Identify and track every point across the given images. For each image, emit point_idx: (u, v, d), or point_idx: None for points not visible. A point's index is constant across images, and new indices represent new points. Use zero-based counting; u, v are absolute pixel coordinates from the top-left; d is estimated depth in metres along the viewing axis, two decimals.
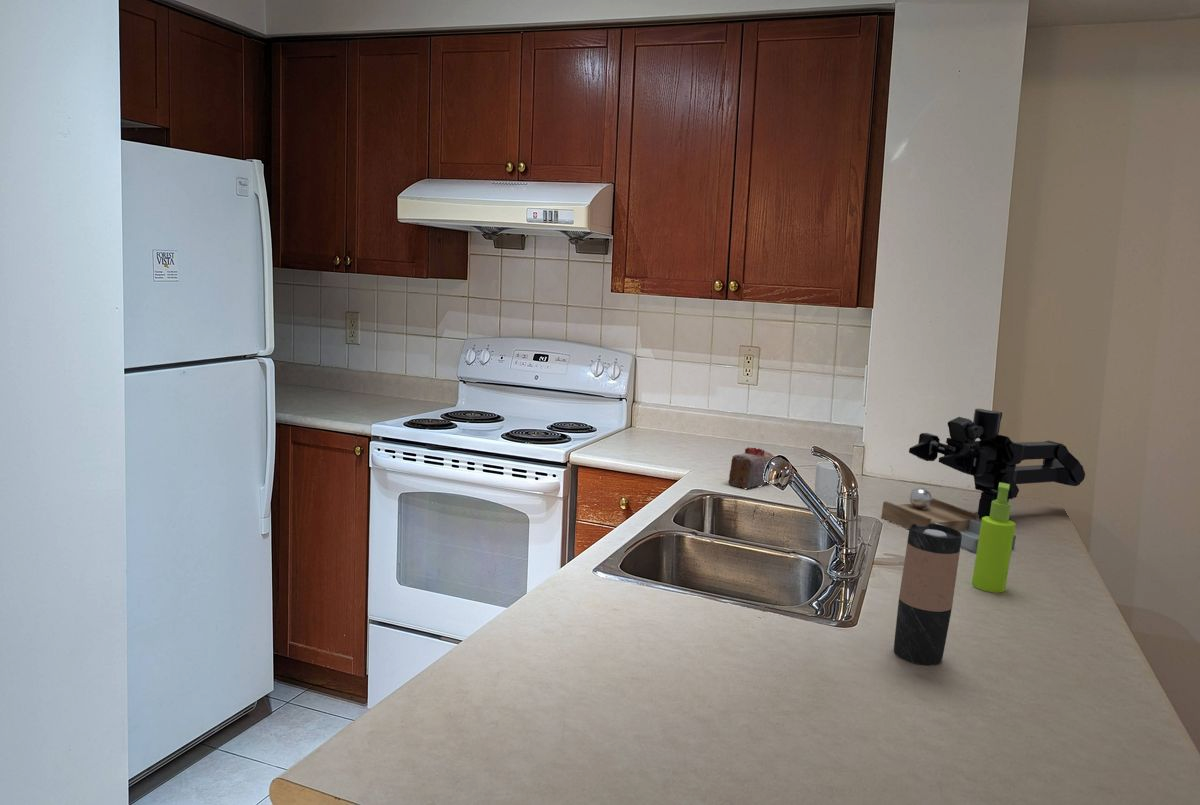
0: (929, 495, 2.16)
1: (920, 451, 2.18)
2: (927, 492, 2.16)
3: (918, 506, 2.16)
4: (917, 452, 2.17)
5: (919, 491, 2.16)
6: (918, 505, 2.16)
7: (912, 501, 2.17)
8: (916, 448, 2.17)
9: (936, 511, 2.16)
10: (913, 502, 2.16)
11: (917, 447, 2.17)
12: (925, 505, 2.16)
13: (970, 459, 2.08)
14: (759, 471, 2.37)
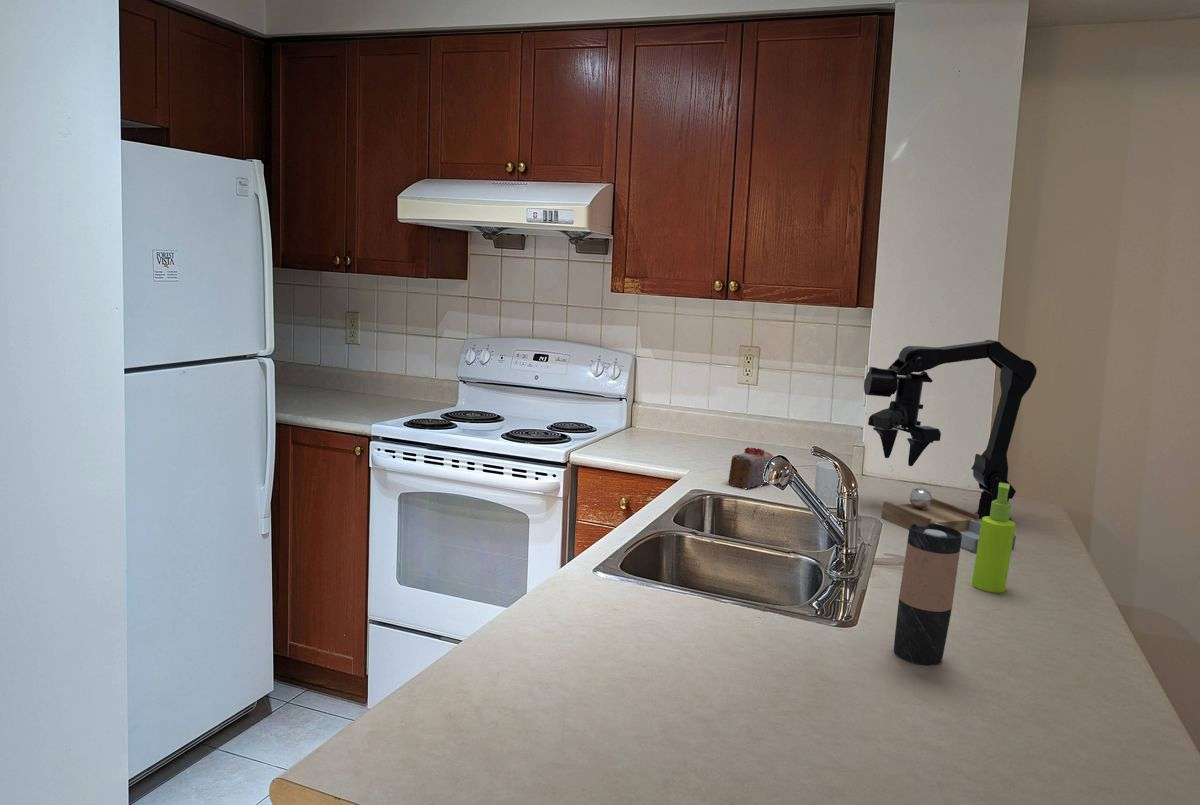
0: (929, 495, 2.16)
1: (889, 443, 2.27)
2: (927, 492, 2.16)
3: (918, 506, 2.16)
4: (890, 448, 2.27)
5: (919, 491, 2.16)
6: (918, 505, 2.16)
7: (912, 501, 2.17)
8: (887, 450, 2.27)
9: (936, 511, 2.16)
10: (913, 502, 2.16)
11: (886, 449, 2.26)
12: (925, 505, 2.16)
13: (921, 442, 2.16)
14: (759, 471, 2.37)
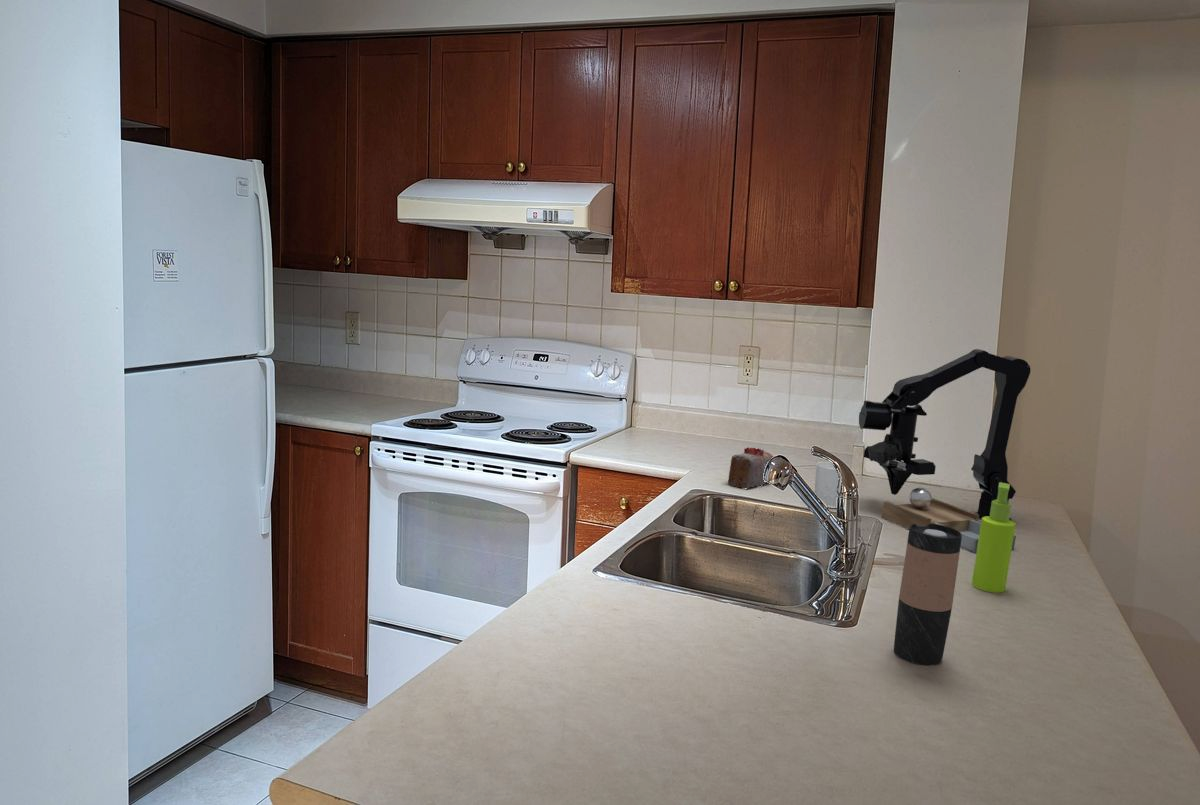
0: (929, 495, 2.16)
1: None
2: (927, 492, 2.16)
3: (918, 506, 2.16)
4: None
5: (919, 491, 2.16)
6: (918, 505, 2.16)
7: (912, 501, 2.17)
8: None
9: (936, 511, 2.16)
10: (913, 502, 2.16)
11: (892, 485, 2.25)
12: (925, 505, 2.16)
13: None
14: (758, 471, 2.37)
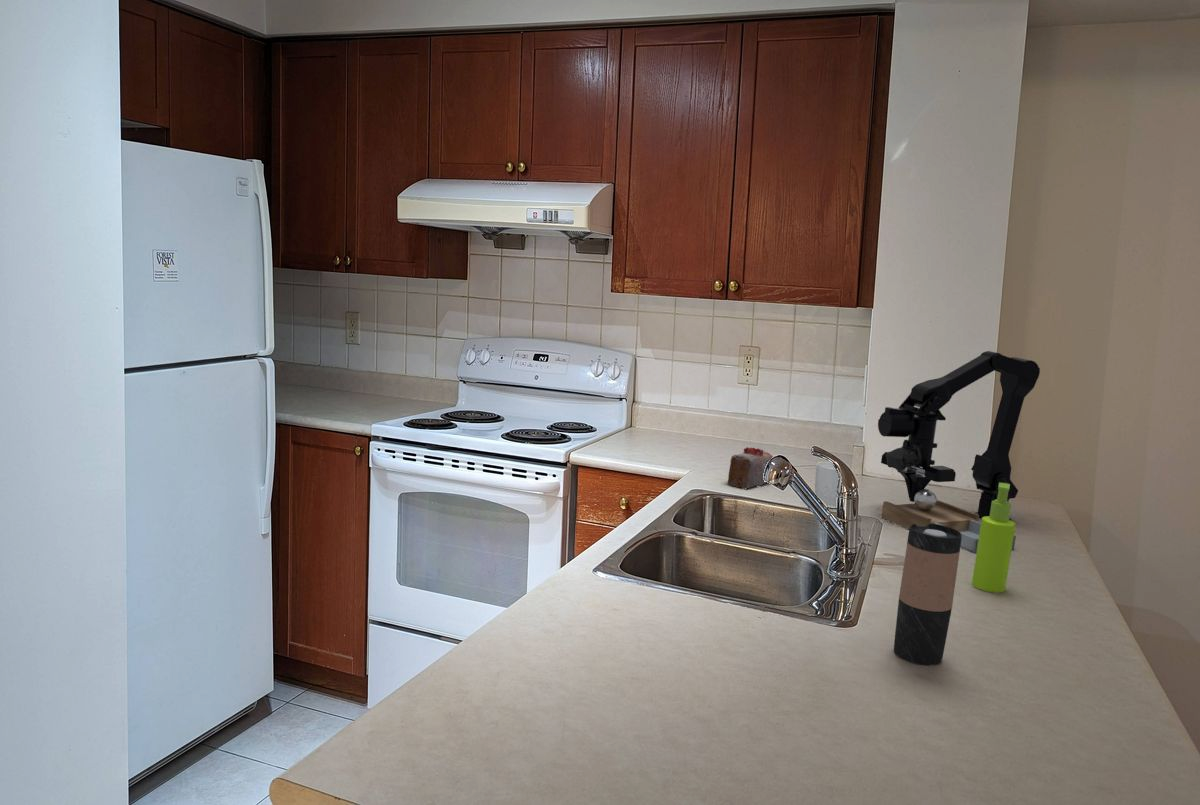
0: (934, 497, 2.14)
1: None
2: (932, 494, 2.14)
3: (923, 508, 2.15)
4: None
5: (924, 493, 2.14)
6: (923, 507, 2.15)
7: (917, 503, 2.15)
8: None
9: (936, 511, 2.16)
10: (918, 504, 2.15)
11: None
12: (930, 507, 2.14)
13: None
14: (758, 471, 2.37)
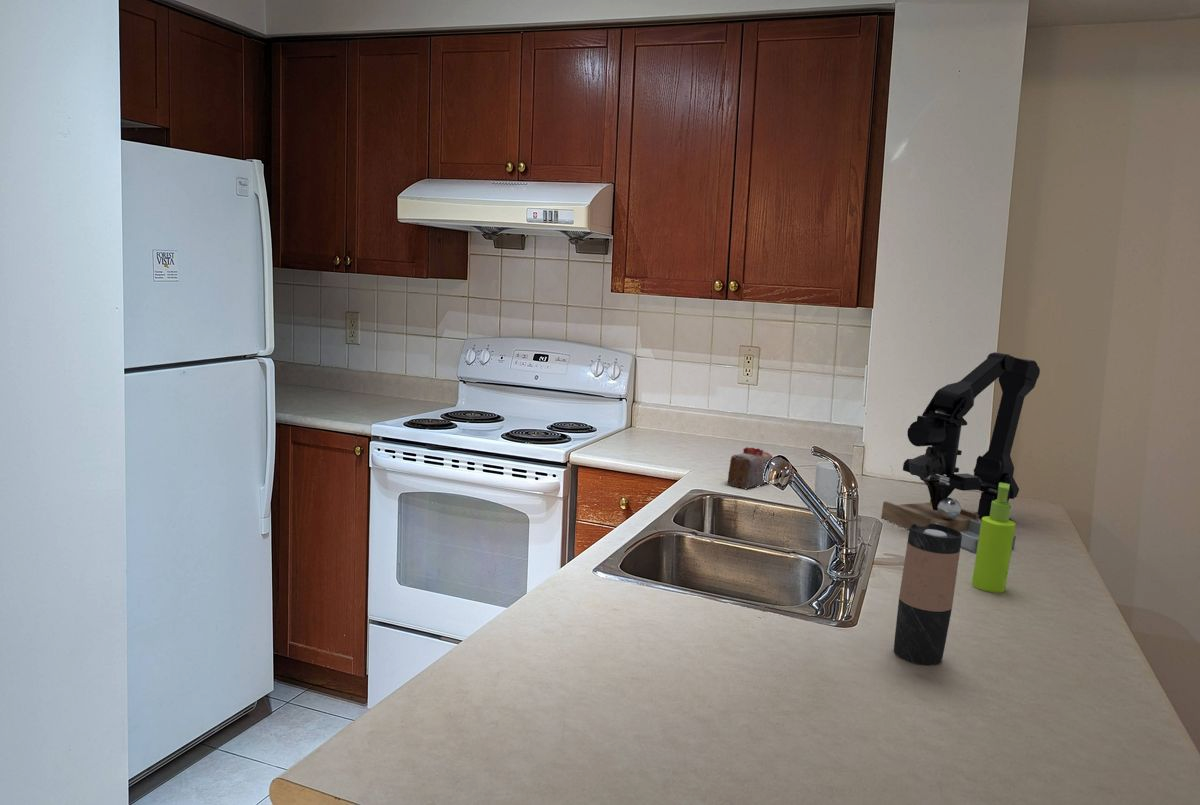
0: (959, 509, 2.08)
1: None
2: (957, 506, 2.07)
3: (944, 517, 2.09)
4: None
5: (949, 504, 2.07)
6: (945, 517, 2.09)
7: (940, 511, 2.09)
8: None
9: (936, 511, 2.16)
10: (940, 513, 2.09)
11: (934, 500, 2.13)
12: (952, 518, 2.08)
13: None
14: (758, 471, 2.37)
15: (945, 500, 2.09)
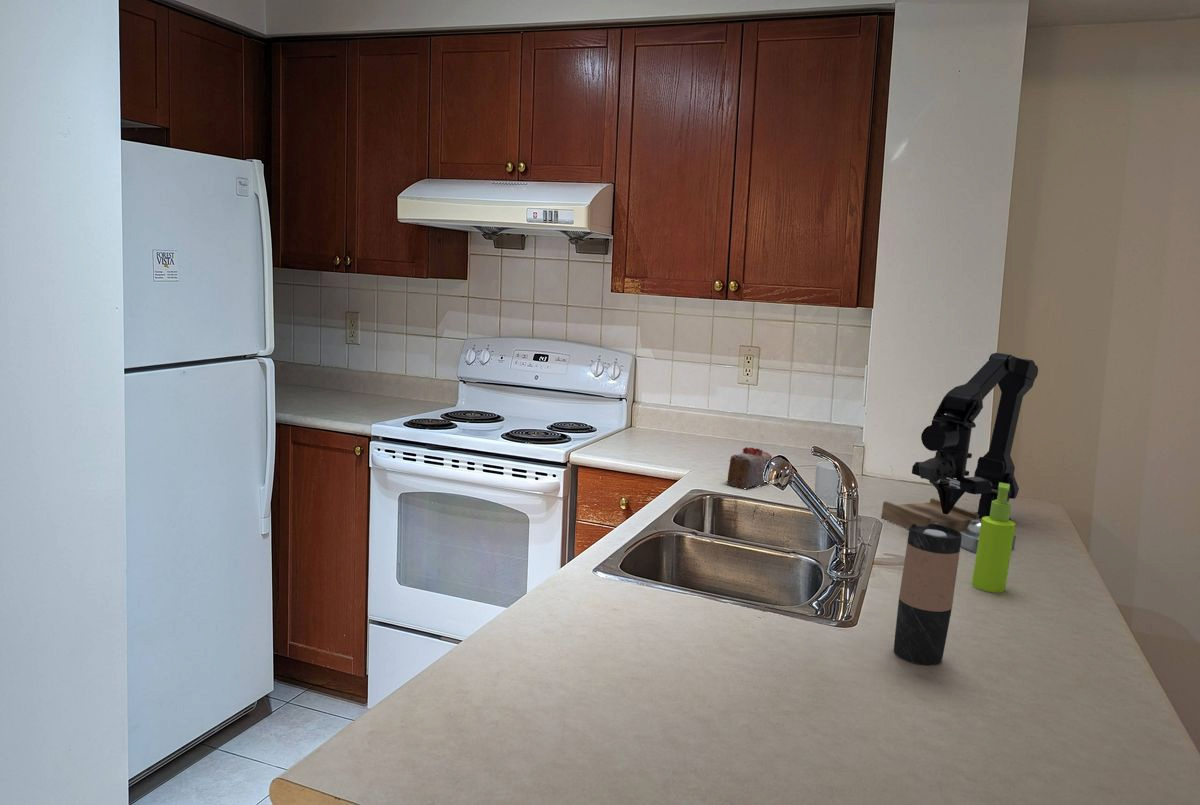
0: None
1: None
2: None
3: (971, 522, 2.02)
4: None
5: None
6: (970, 523, 2.02)
7: (971, 528, 2.01)
8: None
9: (936, 511, 2.16)
10: (971, 527, 2.01)
11: (944, 504, 2.10)
12: None
13: None
14: (757, 471, 2.37)
15: None
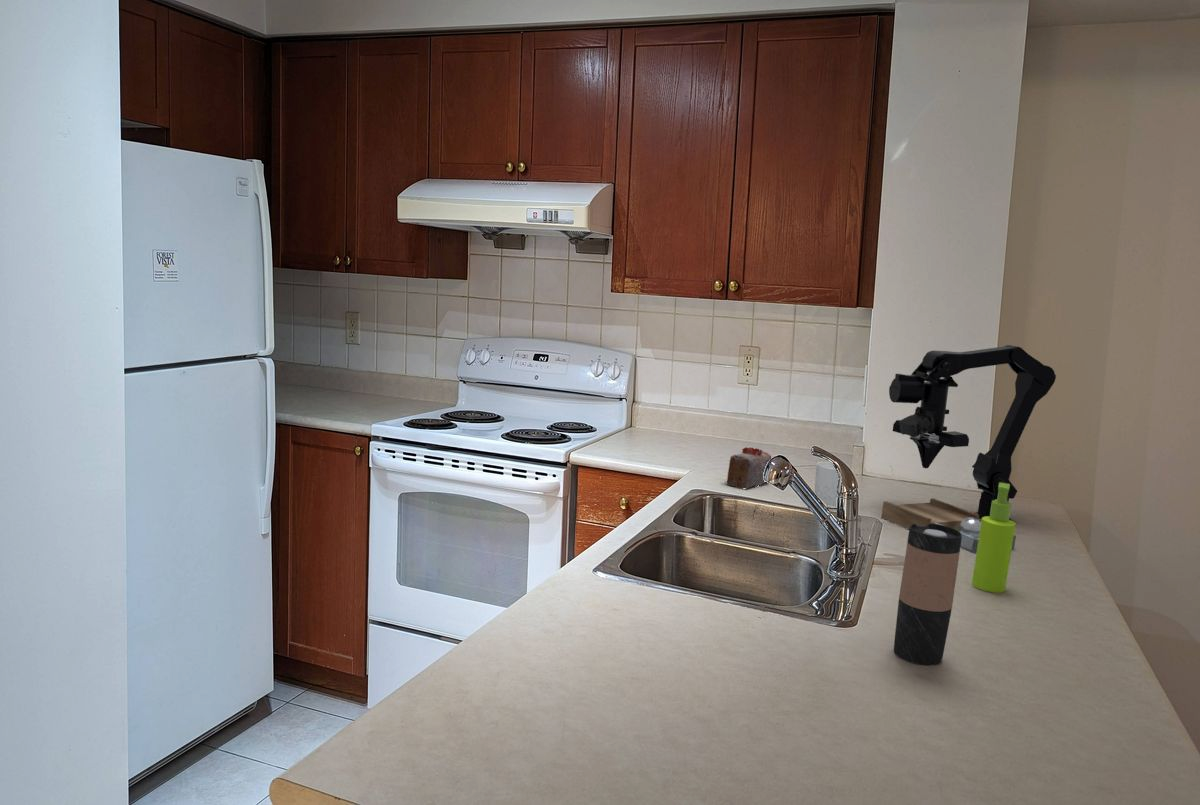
0: None
1: None
2: None
3: (960, 524, 2.05)
4: None
5: None
6: None
7: (962, 526, 2.03)
8: None
9: (936, 511, 2.16)
10: (961, 525, 2.04)
11: (924, 458, 2.21)
12: None
13: (937, 444, 2.17)
14: (757, 471, 2.37)
15: (972, 535, 2.02)
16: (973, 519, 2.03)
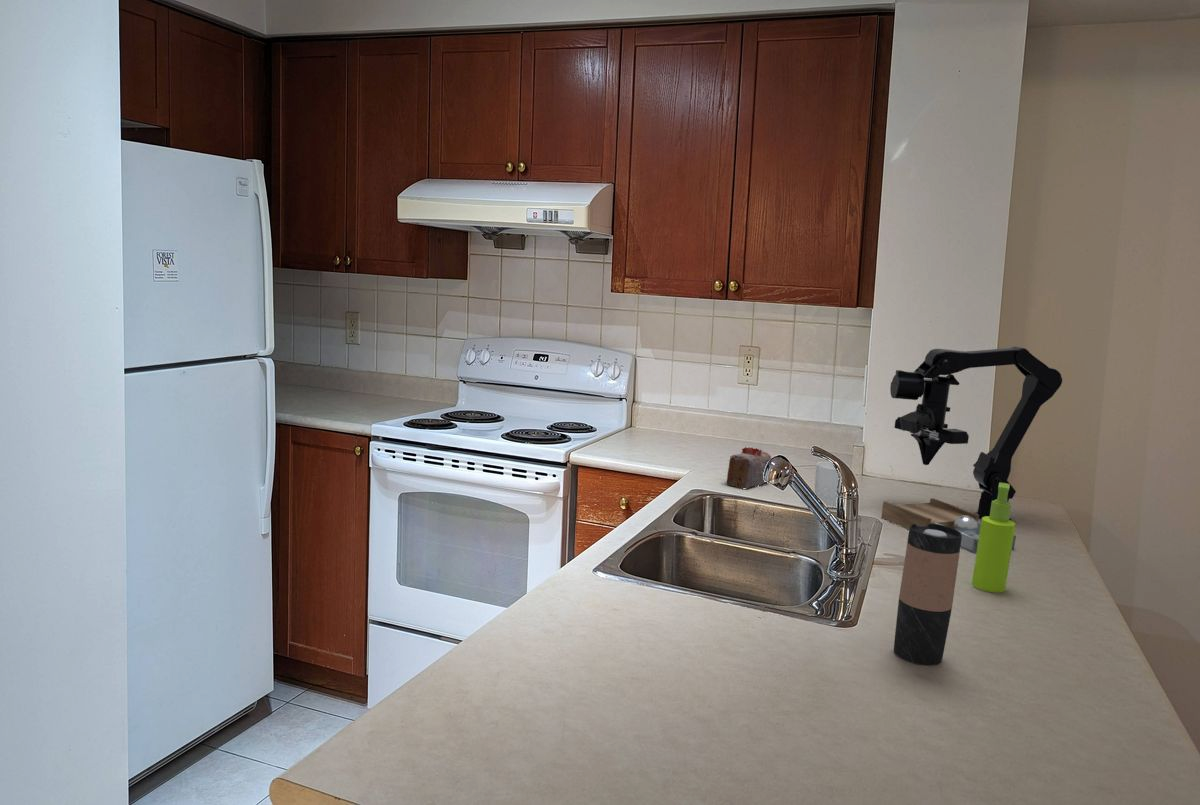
0: None
1: None
2: None
3: None
4: None
5: (966, 533, 2.03)
6: None
7: (955, 525, 2.05)
8: None
9: (936, 511, 2.16)
10: (954, 525, 2.05)
11: (924, 455, 2.23)
12: None
13: (937, 441, 2.20)
14: (757, 471, 2.37)
15: (967, 527, 2.03)
16: None
